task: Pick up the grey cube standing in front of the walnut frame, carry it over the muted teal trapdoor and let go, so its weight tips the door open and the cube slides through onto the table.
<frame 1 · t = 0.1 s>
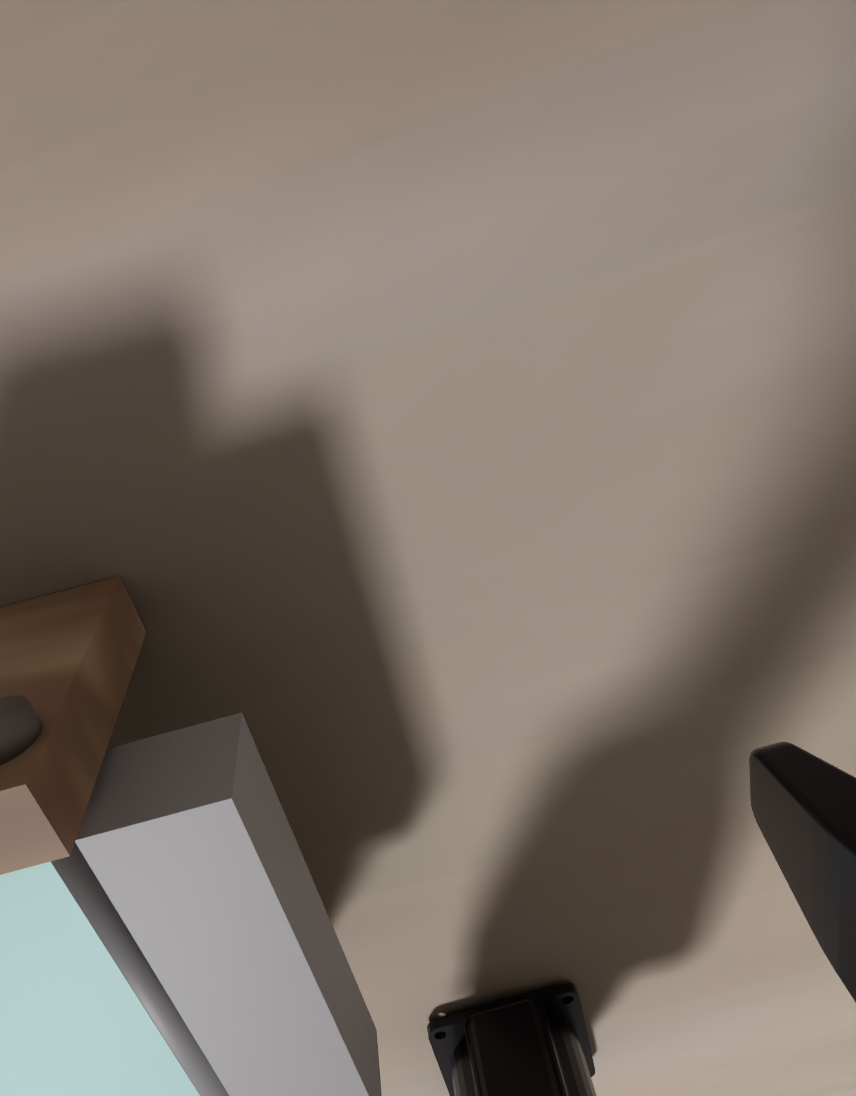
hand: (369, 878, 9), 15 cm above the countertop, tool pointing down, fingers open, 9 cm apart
trapdoor frame: (199, 815, 27), on the countertop
trapdoor: (127, 989, 22), point 6 cm above the countertop, hinge at 0.0°
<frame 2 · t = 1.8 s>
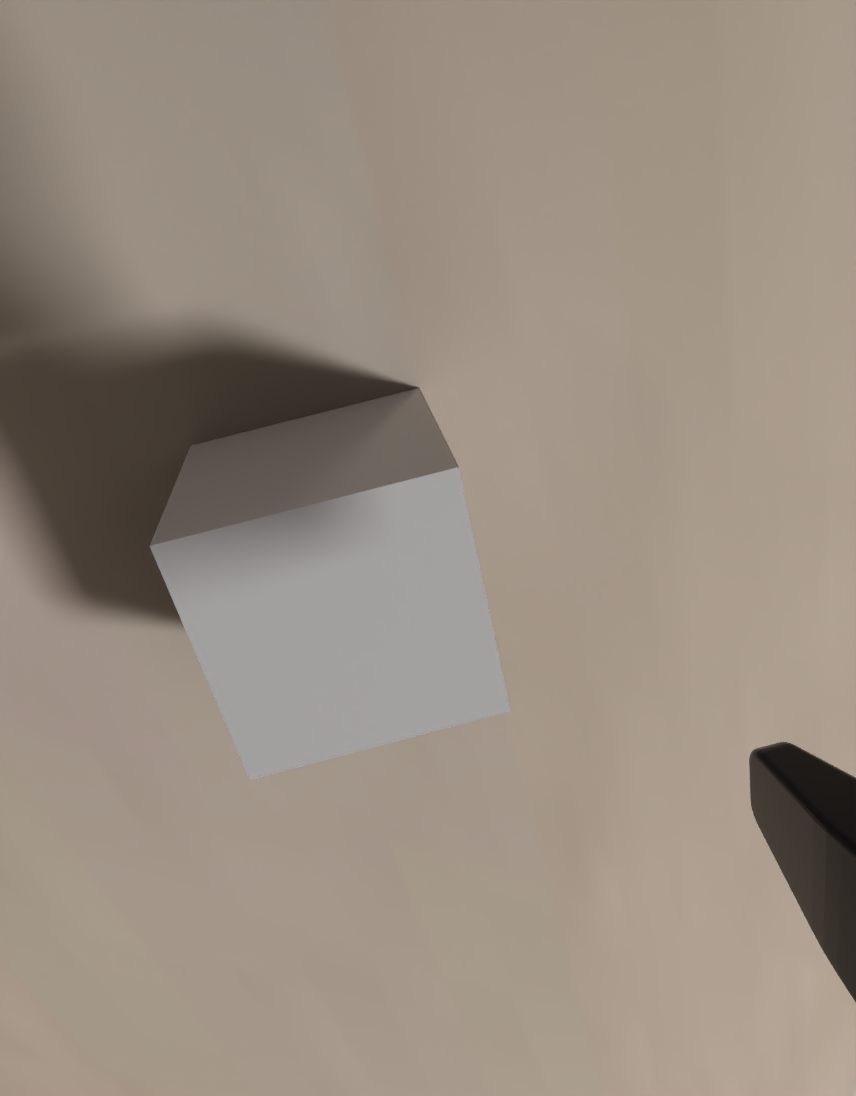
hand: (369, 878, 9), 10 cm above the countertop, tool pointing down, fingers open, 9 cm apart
grey cube: (336, 518, 18), on the countertop
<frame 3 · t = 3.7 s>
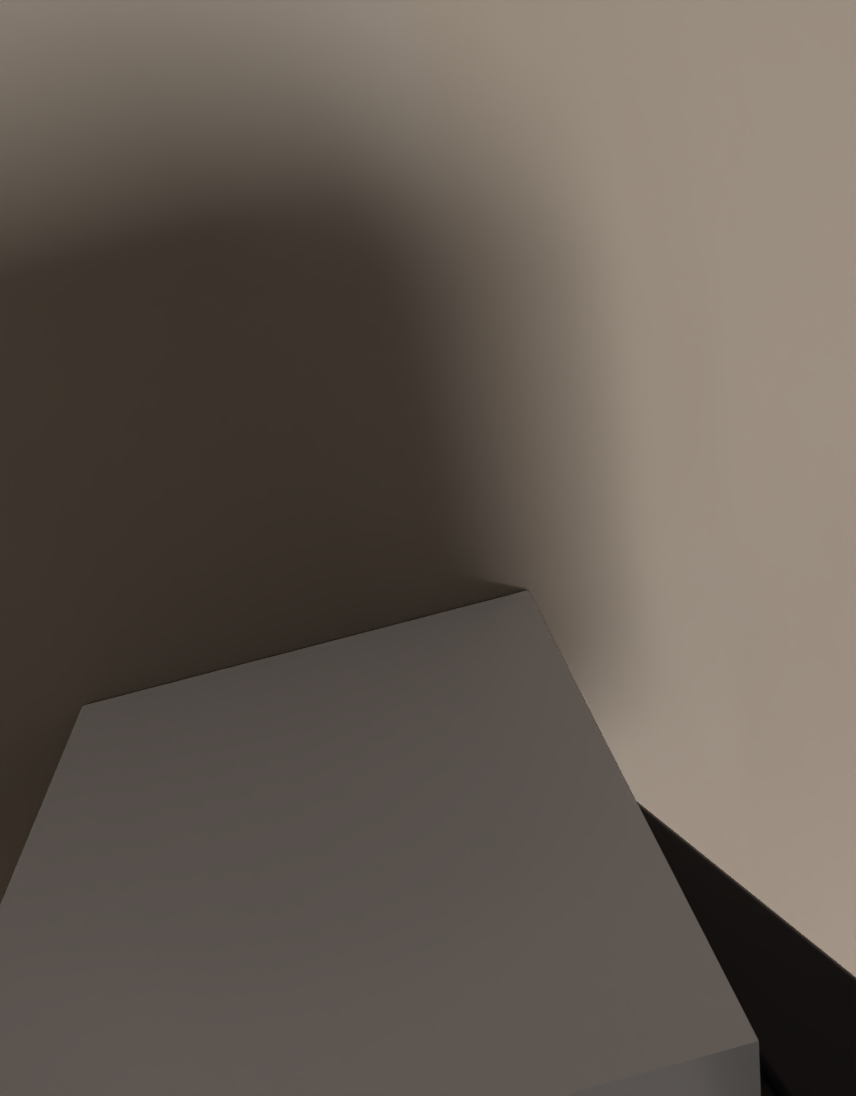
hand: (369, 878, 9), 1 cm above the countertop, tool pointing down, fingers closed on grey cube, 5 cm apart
grey cube: (363, 811, 10), on the countertop, touching gripper
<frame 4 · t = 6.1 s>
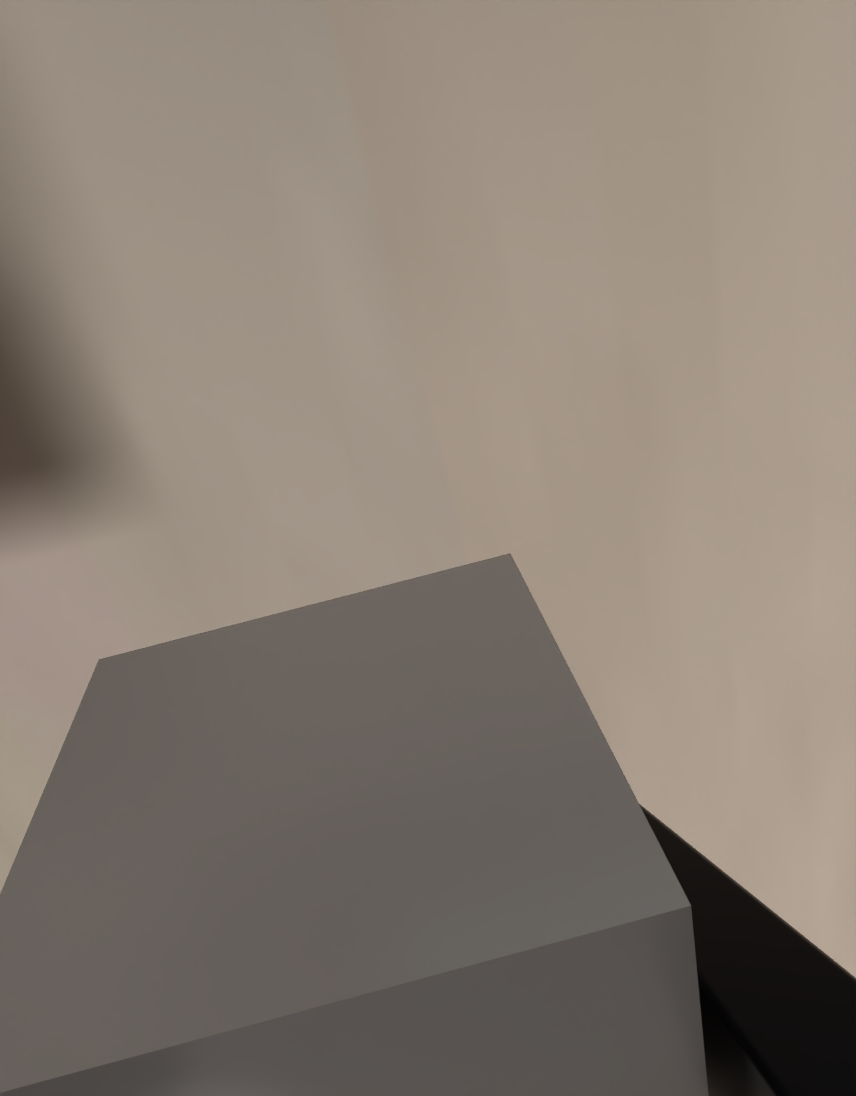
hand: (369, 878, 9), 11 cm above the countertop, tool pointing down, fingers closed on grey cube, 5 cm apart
grey cube: (359, 763, 10), point 9 cm above the countertop, touching gripper
when the fingers open (12 cm above the countertop, at t = 8.8 s): grey cube drops 3 cm, resting on trapdoor.
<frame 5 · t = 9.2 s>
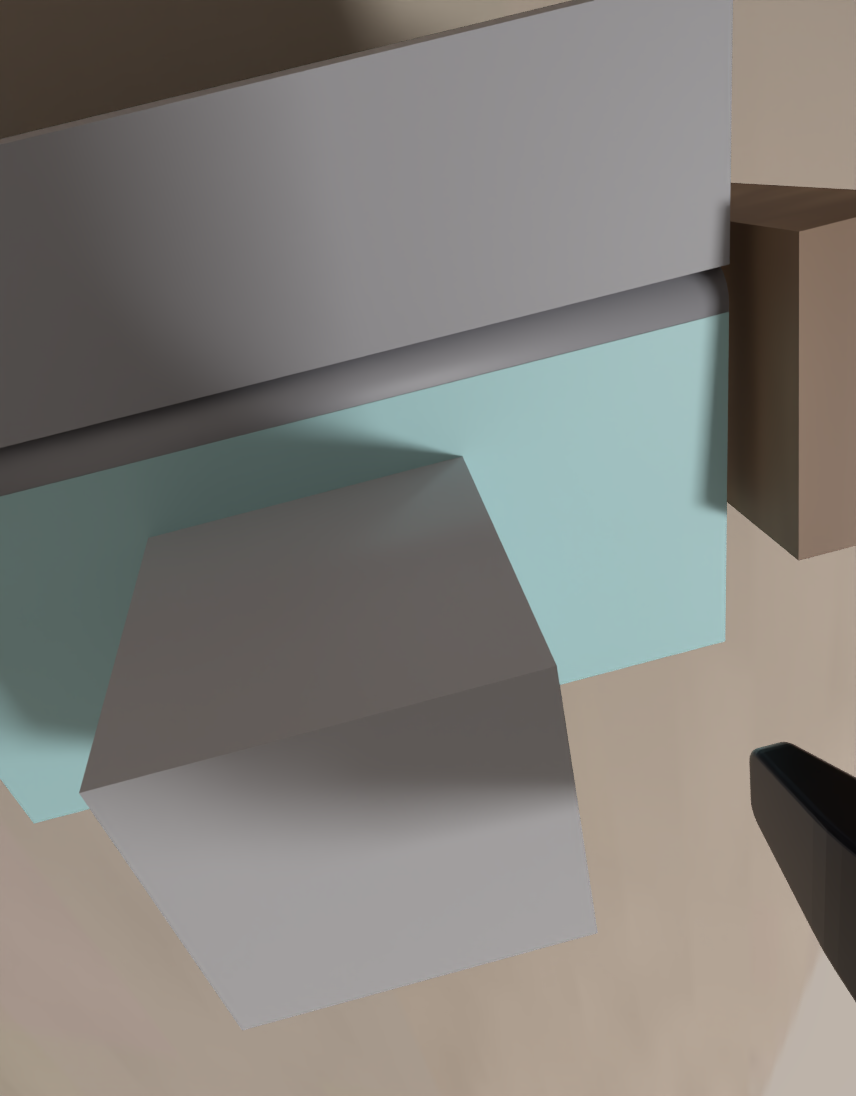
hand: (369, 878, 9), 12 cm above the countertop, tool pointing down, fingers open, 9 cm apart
trapdoor frame: (290, 323, 18), on the countertop
grey cube: (347, 620, 14), point 7 cm above the countertop, tilted 6°, touching trapdoor
trapdoor: (301, 451, 13), point 6 cm above the countertop, hinge at -6.1°, touching grey cube
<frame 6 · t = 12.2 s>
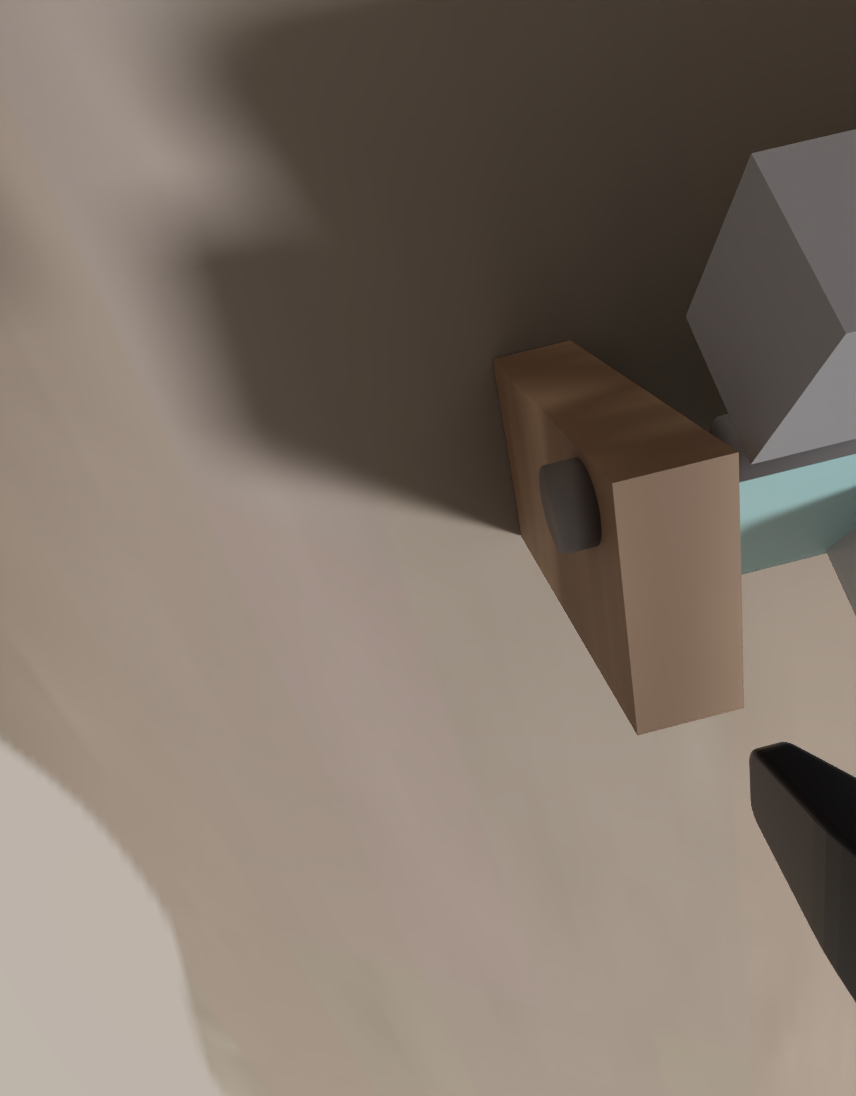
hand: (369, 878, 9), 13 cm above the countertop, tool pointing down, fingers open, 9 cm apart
trapdoor frame: (849, 313, 20), on the countertop
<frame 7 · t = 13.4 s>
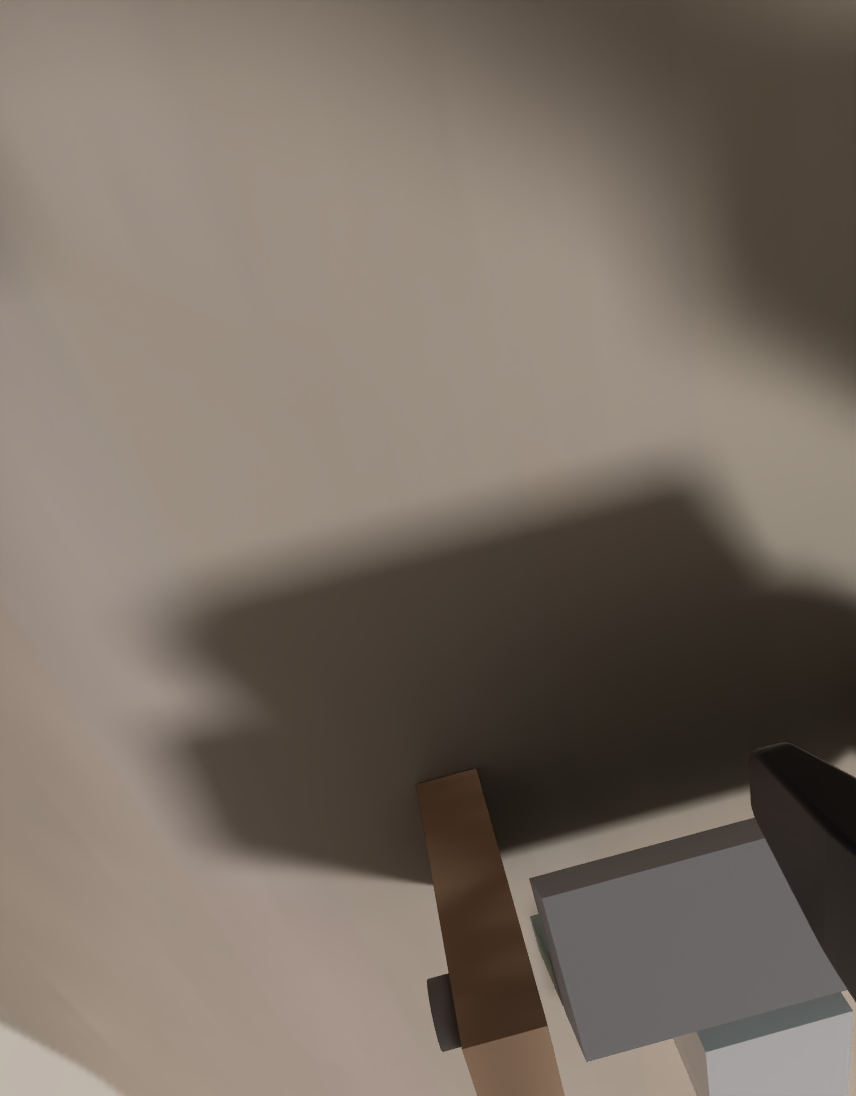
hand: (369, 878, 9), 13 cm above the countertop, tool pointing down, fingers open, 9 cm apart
trapdoor frame: (696, 733, 26), on the countertop
grey cube: (780, 1074, 27), point 5 cm above the countertop, tilted 180°
trapdoor: (787, 862, 21), point 6 cm above the countertop, hinge at -46.2°
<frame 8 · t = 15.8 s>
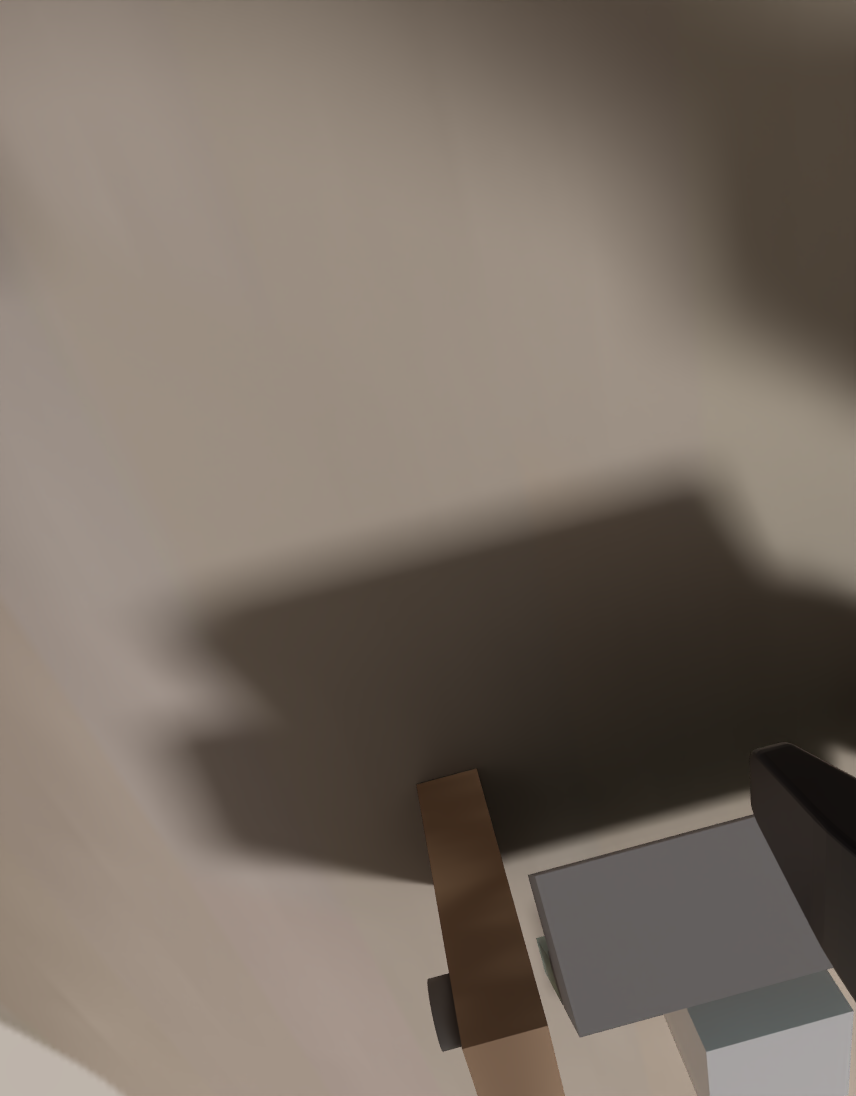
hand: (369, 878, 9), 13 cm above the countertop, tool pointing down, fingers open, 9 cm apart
trapdoor frame: (696, 733, 26), on the countertop
grey cube: (780, 1074, 27), point 5 cm above the countertop, tilted 180°
trapdoor: (786, 867, 21), point 6 cm above the countertop, hinge at -40.4°
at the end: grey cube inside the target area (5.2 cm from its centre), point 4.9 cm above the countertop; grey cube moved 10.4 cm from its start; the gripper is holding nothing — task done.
